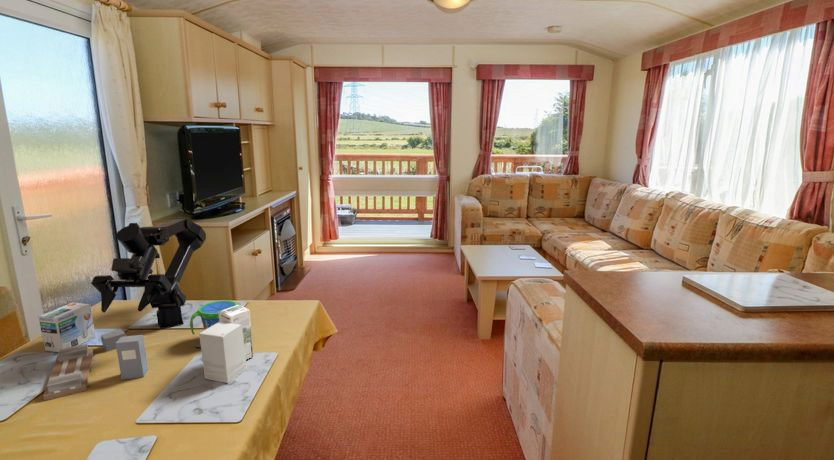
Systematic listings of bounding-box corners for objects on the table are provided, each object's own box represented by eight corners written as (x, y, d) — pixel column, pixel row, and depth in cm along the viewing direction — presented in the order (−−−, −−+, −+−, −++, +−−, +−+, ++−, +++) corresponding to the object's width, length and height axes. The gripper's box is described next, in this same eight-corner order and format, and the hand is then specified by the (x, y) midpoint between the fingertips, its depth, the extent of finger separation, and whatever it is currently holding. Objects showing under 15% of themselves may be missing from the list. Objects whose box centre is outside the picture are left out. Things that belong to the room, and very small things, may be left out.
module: (127, 372, 115) (121, 336, 113) (148, 369, 116) (143, 334, 114) (121, 379, 112) (115, 343, 109) (143, 377, 113) (138, 340, 110)
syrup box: (241, 351, 125) (236, 303, 122) (254, 357, 122) (249, 308, 119) (222, 360, 121) (217, 310, 117) (235, 366, 117) (230, 315, 114)
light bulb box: (63, 353, 125) (56, 318, 122) (43, 351, 126) (36, 316, 124) (97, 336, 135) (91, 303, 133) (78, 334, 136) (72, 301, 134)
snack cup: (246, 326, 141) (244, 296, 139) (250, 340, 132) (247, 308, 130) (192, 336, 135) (188, 305, 132) (192, 351, 125) (188, 318, 123)
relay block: (123, 341, 132) (121, 329, 131) (127, 346, 129) (125, 333, 128) (103, 347, 128) (100, 334, 127) (106, 352, 126) (104, 339, 125)
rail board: (57, 359, 121) (55, 349, 120) (93, 352, 125) (91, 341, 125) (44, 400, 103) (41, 388, 102) (86, 390, 107) (84, 378, 106)
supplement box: (247, 369, 116) (243, 324, 113) (227, 384, 109) (222, 337, 107) (225, 364, 119) (220, 320, 116) (203, 379, 112) (197, 332, 109)
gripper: (92, 246, 121) (66, 296, 111) (162, 245, 122) (143, 295, 112) (112, 269, 129) (90, 317, 120) (178, 268, 130) (161, 315, 121)
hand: (120, 311), depth 118 cm, fingers open, 9 cm apart
